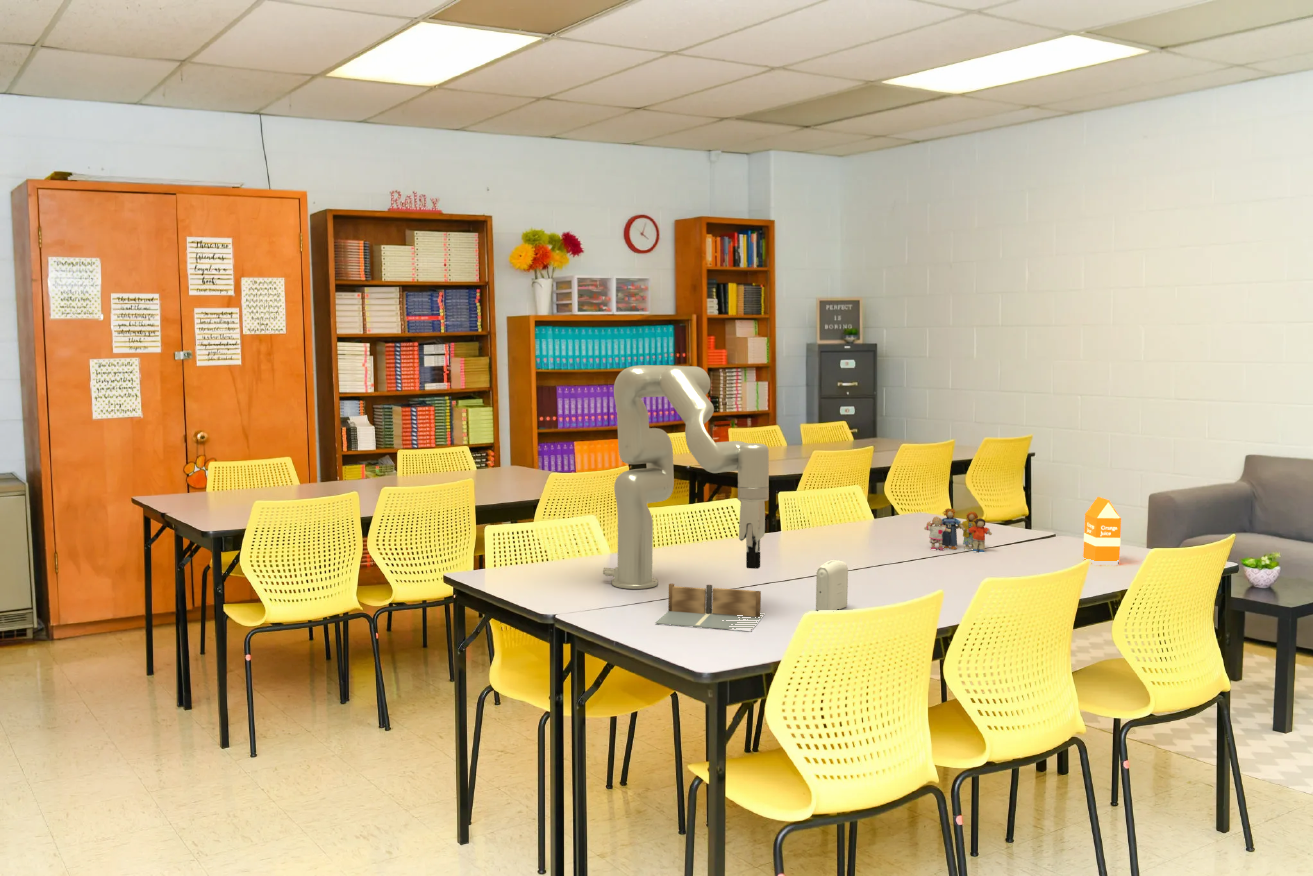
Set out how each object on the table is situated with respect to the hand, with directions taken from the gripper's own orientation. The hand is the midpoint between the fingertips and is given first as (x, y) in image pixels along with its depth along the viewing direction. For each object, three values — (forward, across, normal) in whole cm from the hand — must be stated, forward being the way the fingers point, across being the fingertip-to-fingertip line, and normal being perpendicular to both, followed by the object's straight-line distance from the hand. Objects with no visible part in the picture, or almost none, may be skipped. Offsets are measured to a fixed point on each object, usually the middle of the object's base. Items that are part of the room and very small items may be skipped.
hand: (753, 567), depth 277 cm
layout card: (+11, +11, -8) cm, 17 cm away
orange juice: (+12, -96, +90) cm, 133 cm away
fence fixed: (+10, +7, -15) cm, 19 cm away
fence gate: (+10, +7, -3) cm, 13 cm away
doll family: (+11, -106, +47) cm, 117 cm away
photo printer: (+12, -8, +18) cm, 23 cm away
